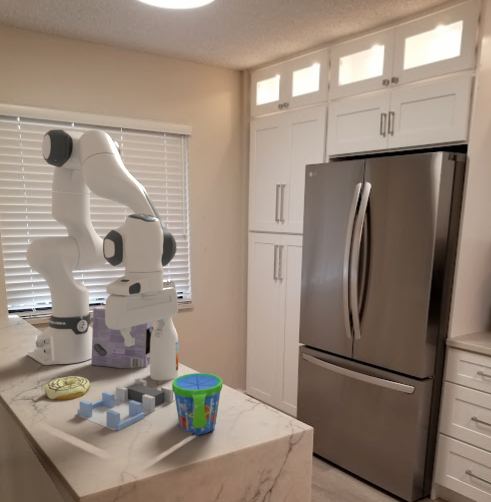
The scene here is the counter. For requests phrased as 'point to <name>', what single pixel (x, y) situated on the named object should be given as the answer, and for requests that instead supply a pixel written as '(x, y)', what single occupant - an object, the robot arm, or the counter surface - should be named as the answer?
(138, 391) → the long gray rectangular prism
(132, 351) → the cake pan box
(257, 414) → the counter surface
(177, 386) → the snack cup
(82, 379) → the decorated donut
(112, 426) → the pegged tray
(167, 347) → the milk bottle
